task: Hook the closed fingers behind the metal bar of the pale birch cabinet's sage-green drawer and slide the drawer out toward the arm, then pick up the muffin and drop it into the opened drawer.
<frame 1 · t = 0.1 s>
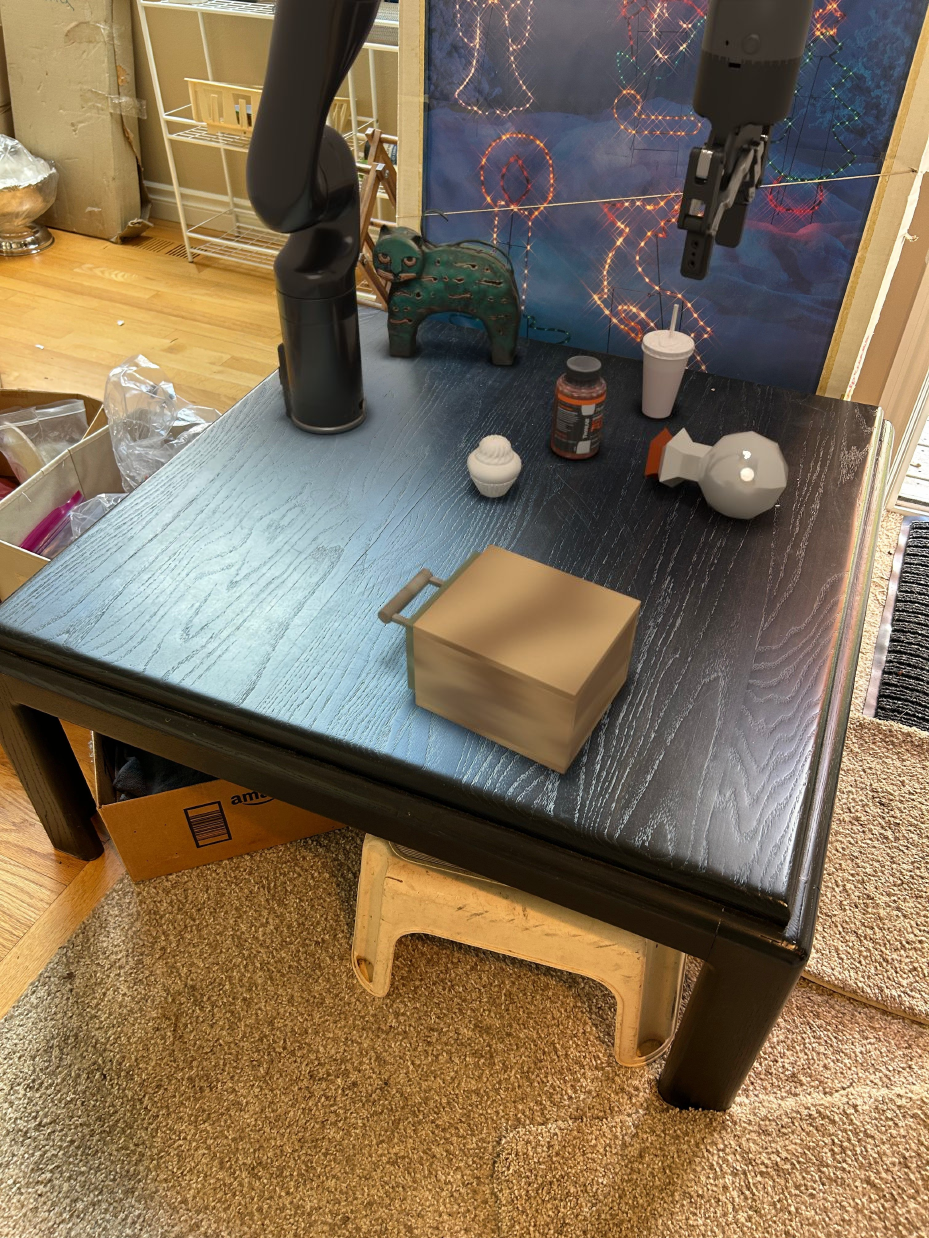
hand: (710, 261, 79), 29 cm above the table, tool pointing down, fingers open, 8 cm apart
smoothie: (656, 412, 118), on the table
muffin: (493, 491, 104), on the table
supplement bottle: (574, 450, 111), on the table
ceramic cat: (449, 356, 128), on the table
cabinet: (522, 692, 81), on the table
potion bottle: (708, 503, 103), on the table
drawer: (485, 636, 79), point 5 cm above the table, slide at 0.0 cm
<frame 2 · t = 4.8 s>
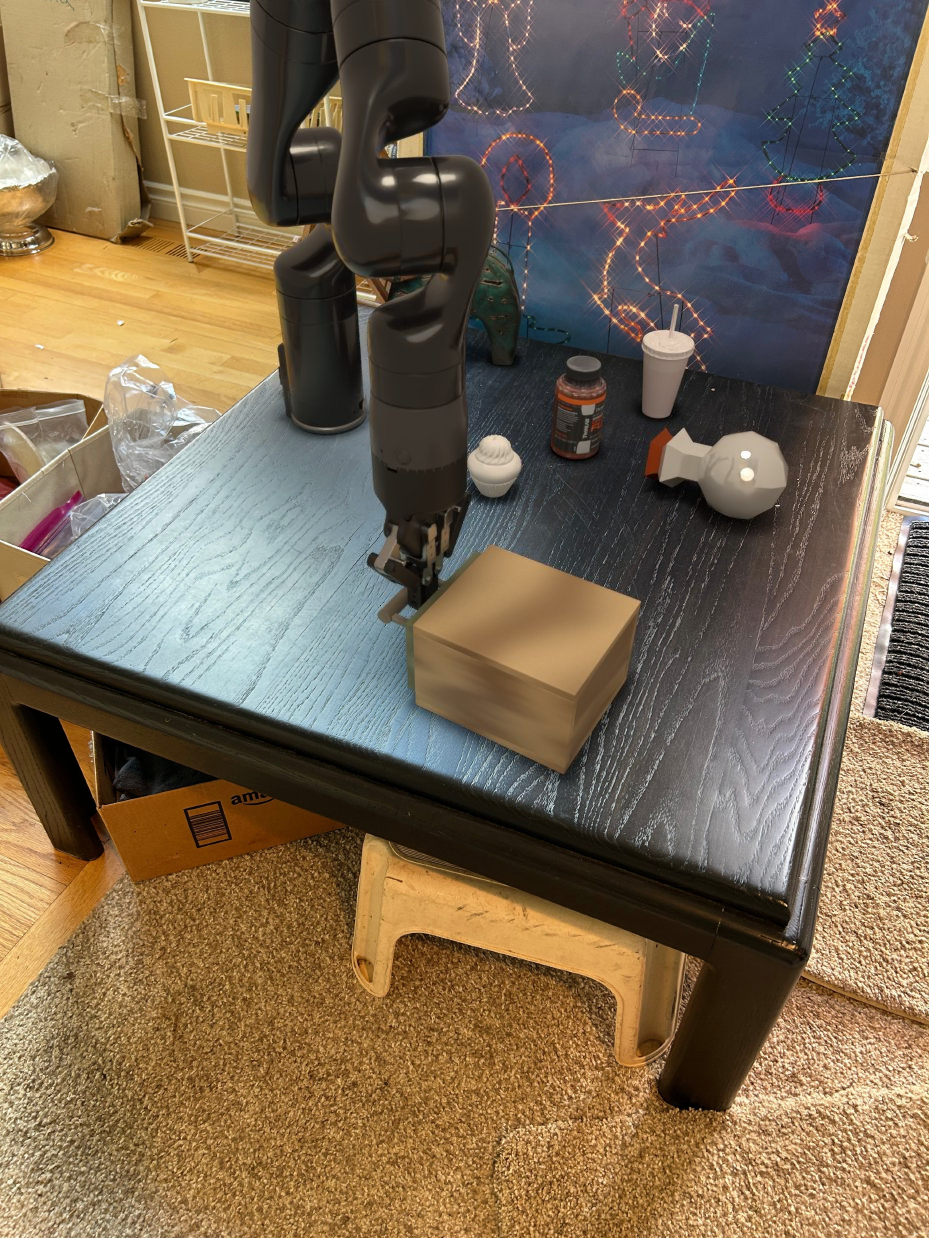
hand: (423, 606, 81), 5 cm above the table, tool pointing down, fingers closed
drawer: (485, 636, 79), point 5 cm above the table, slide at 0.0 cm, touching gripper
everything else where it was.
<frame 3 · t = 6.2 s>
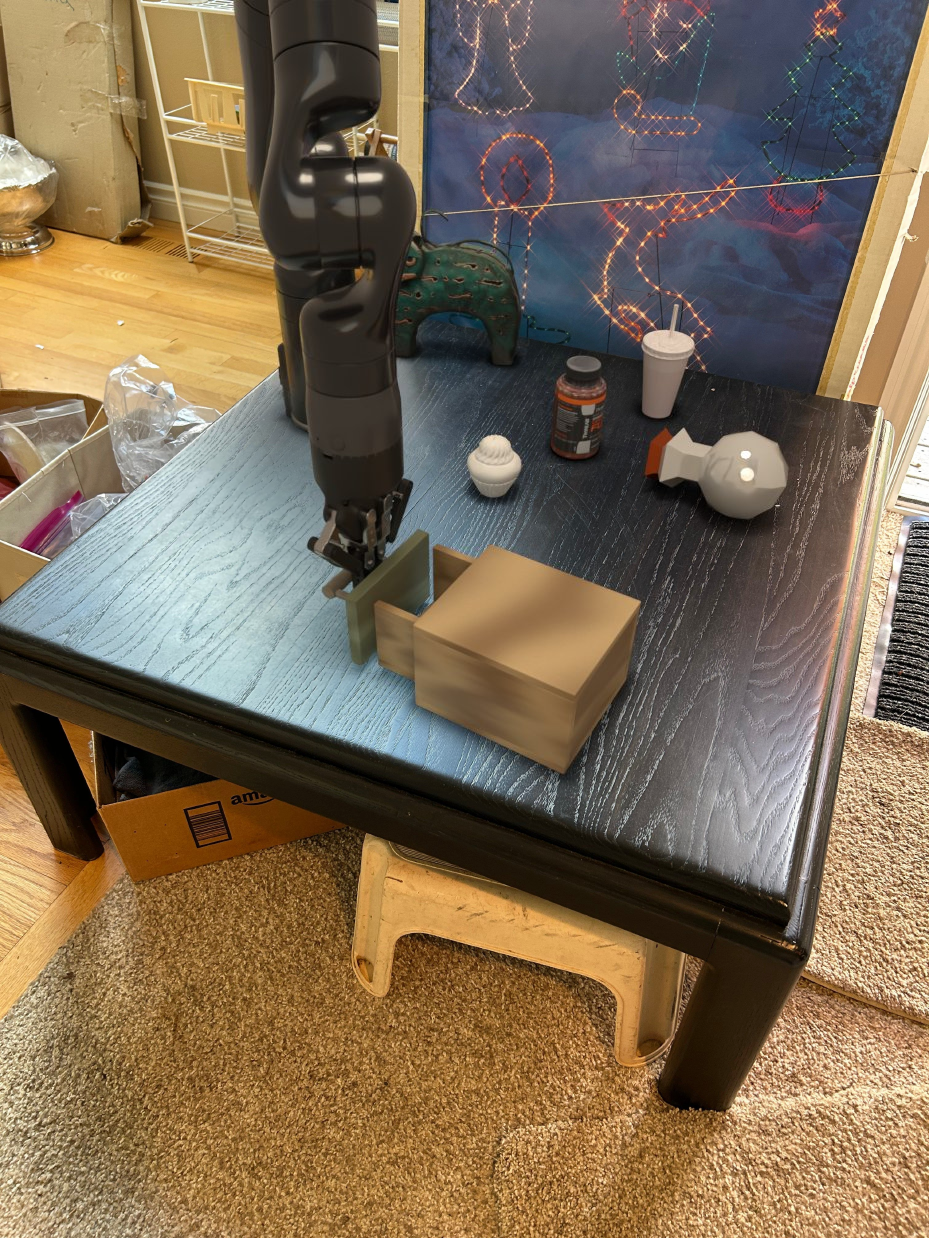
hand: (368, 590, 84), 4 cm above the table, tool pointing down, fingers closed
drawer: (426, 611, 81), point 5 cm above the table, slide at 6.2 cm, touching gripper
everything else where it was.
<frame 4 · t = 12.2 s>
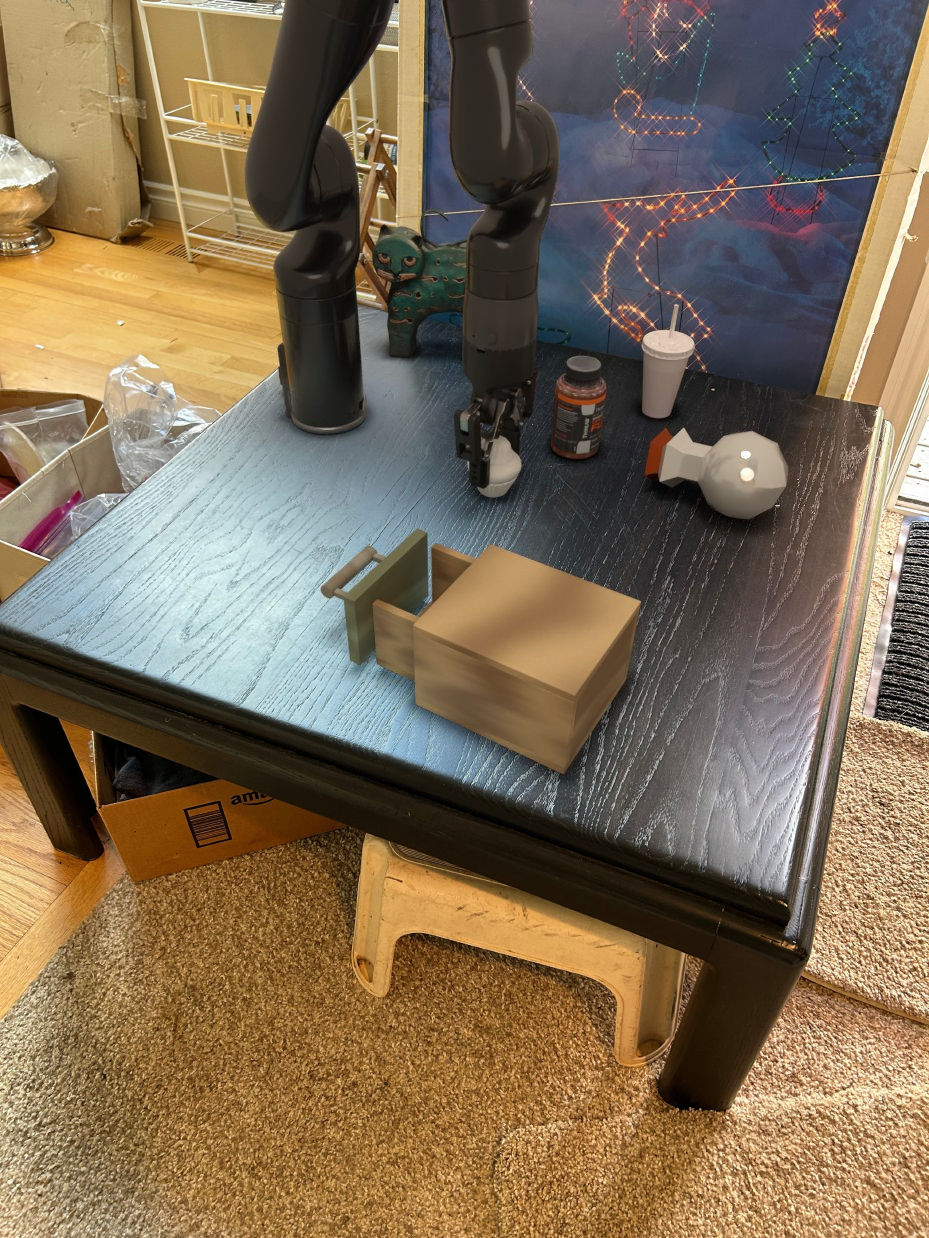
hand: (494, 470, 102), 3 cm above the table, tool pointing down, fingers closed on muffin, 6 cm apart
muffin: (493, 491, 104), on the table, touching gripper
drawer: (424, 611, 81), point 5 cm above the table, slide at 6.3 cm
everything else where it was.
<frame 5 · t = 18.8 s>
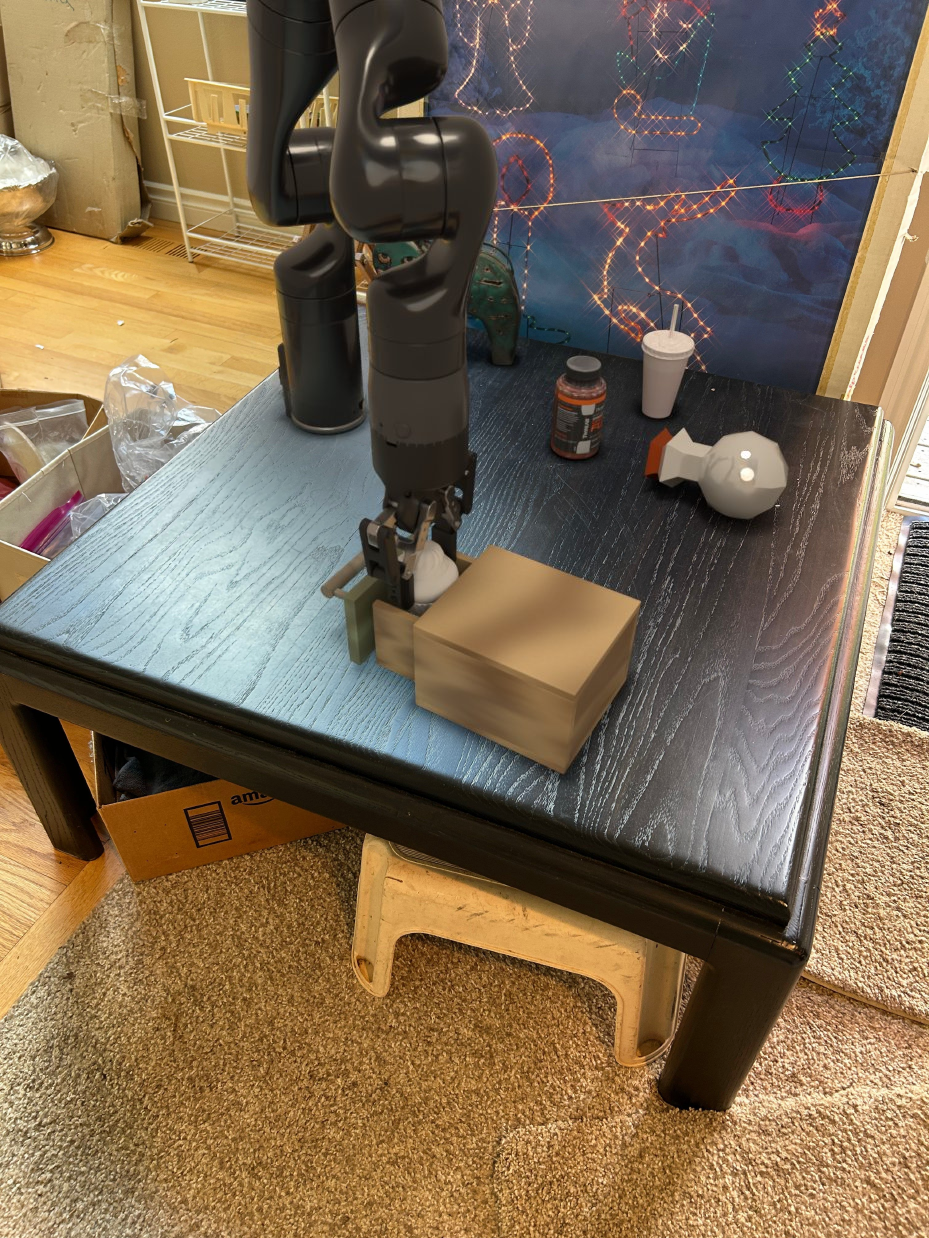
hand: (423, 582, 79), 8 cm above the table, tool pointing down, fingers closed on muffin, 6 cm apart
muffin: (424, 606, 81), point 5 cm above the table, touching gripper
drawer: (424, 611, 81), point 5 cm above the table, slide at 6.3 cm, touching gripper
everything else where it was.
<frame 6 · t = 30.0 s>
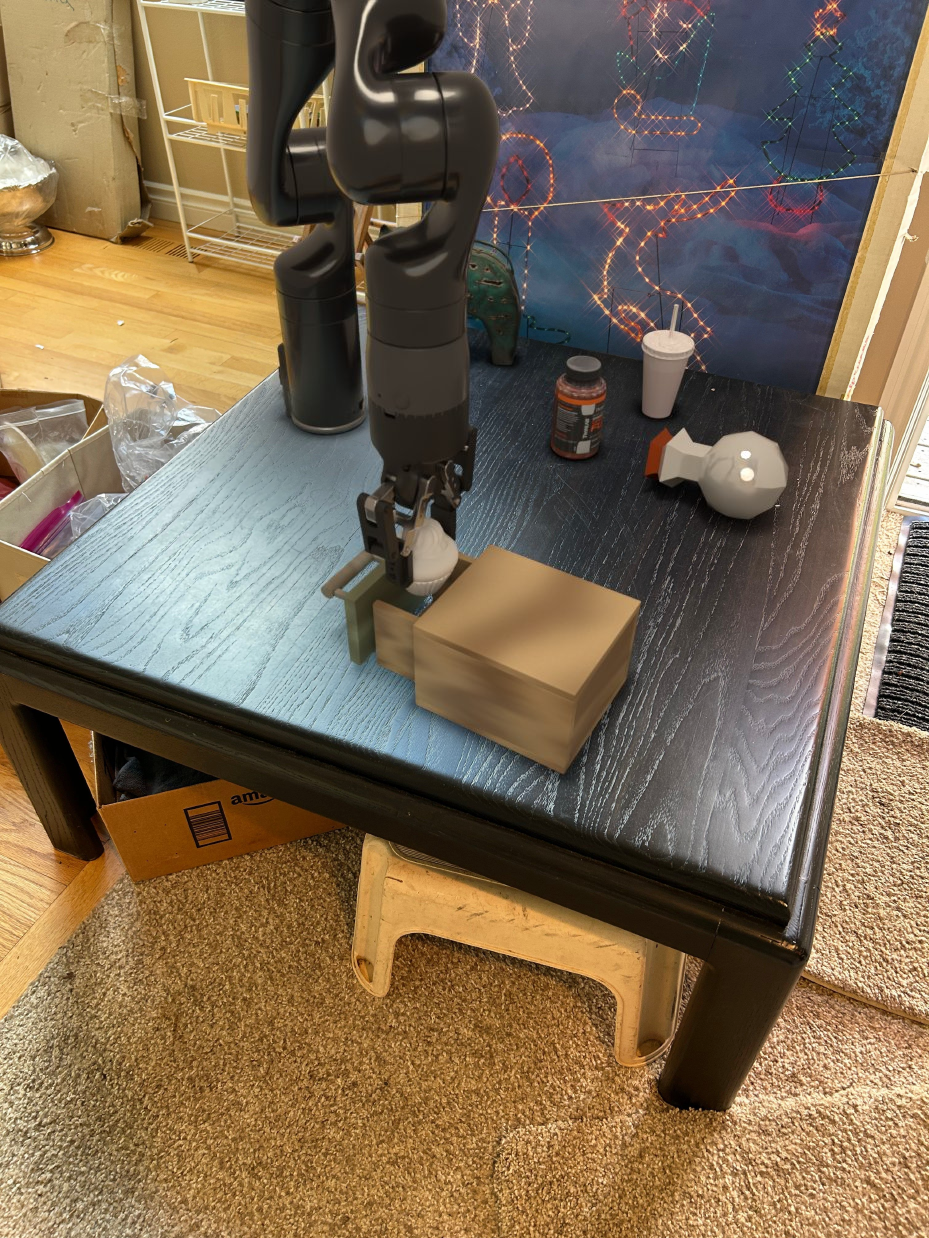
hand: (422, 561, 78), 10 cm above the table, tool pointing down, fingers closed on muffin, 6 cm apart
muffin: (423, 586, 79), point 8 cm above the table, touching gripper
drawer: (425, 611, 81), point 5 cm above the table, slide at 6.3 cm
everything else where it was.
when the fingers open (11 cm above the table, at t = 40.5 s): muffin drops 6 cm, resting on drawer.
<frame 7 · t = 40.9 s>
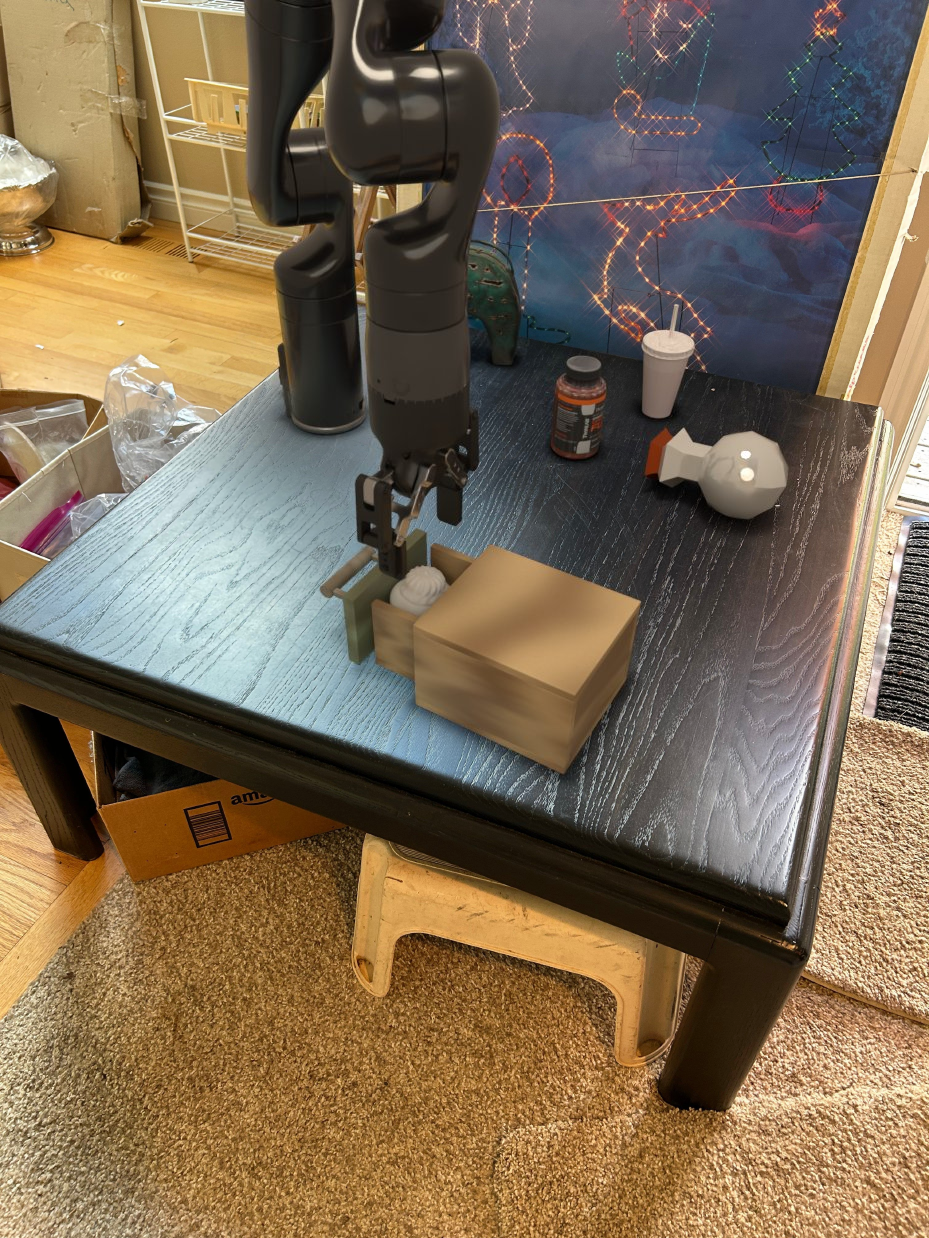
hand: (422, 547, 76), 12 cm above the table, tool pointing down, fingers open, 8 cm apart
muffin: (421, 631, 83), point 2 cm above the table, touching drawer
drawer: (423, 610, 81), point 5 cm above the table, slide at 6.4 cm, touching muffin
everything else where it was.
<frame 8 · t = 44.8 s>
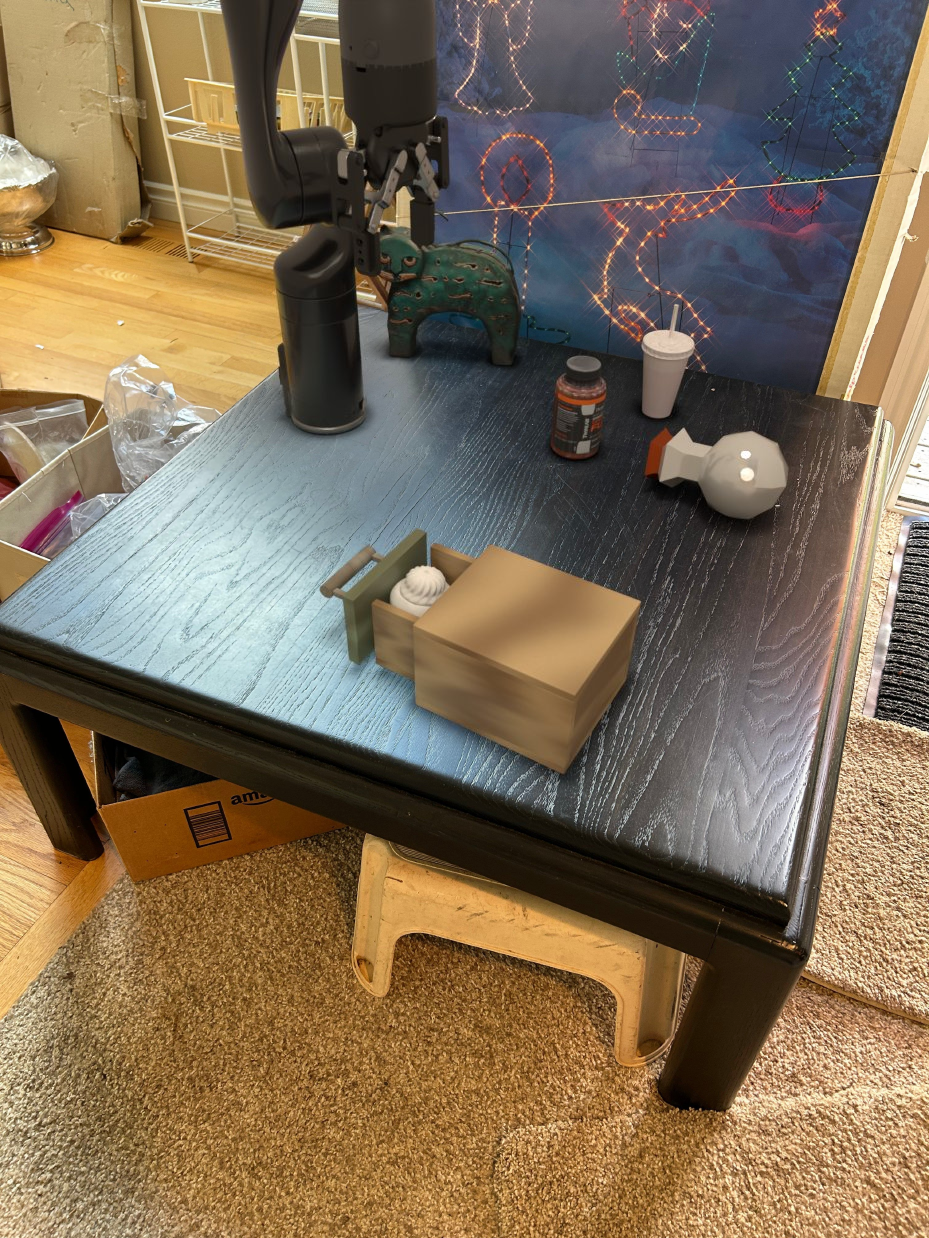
hand: (396, 258, 81), 28 cm above the table, tool pointing down, fingers open, 8 cm apart
nothing on the table moved.
at the end: drawer slide at 6.4 cm; muffin inside the target area in the drawer (2.8 cm from its centre), point 2.0 cm above the cabinet's base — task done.
